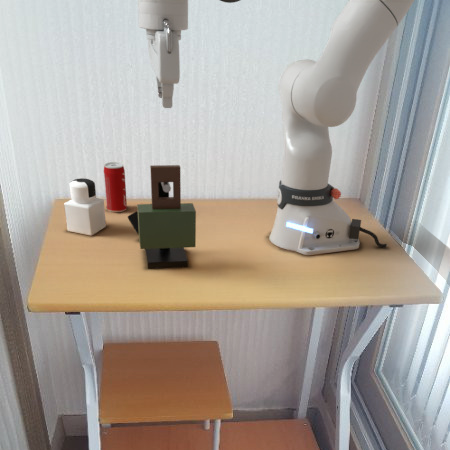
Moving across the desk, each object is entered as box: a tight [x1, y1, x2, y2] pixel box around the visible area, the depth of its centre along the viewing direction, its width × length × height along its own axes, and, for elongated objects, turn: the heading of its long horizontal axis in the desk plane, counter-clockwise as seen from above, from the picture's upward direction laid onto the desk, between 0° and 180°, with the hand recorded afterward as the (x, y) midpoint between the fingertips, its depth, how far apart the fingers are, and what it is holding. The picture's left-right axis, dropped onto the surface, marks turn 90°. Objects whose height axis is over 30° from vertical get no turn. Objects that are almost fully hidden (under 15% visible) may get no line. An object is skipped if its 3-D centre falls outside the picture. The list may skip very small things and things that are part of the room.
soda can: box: [103, 161, 128, 213], centre depth 156 cm, size 6×6×12 cm
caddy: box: [136, 164, 197, 250], centre depth 124 cm, size 12×5×16 cm, turn 100°
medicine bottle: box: [63, 177, 107, 236], centre depth 144 cm, size 7×7×12 cm
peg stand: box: [144, 182, 189, 270], centre depth 129 cm, size 9×11×19 cm
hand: (164, 102), depth 113 cm, fingers open, 8 cm apart
